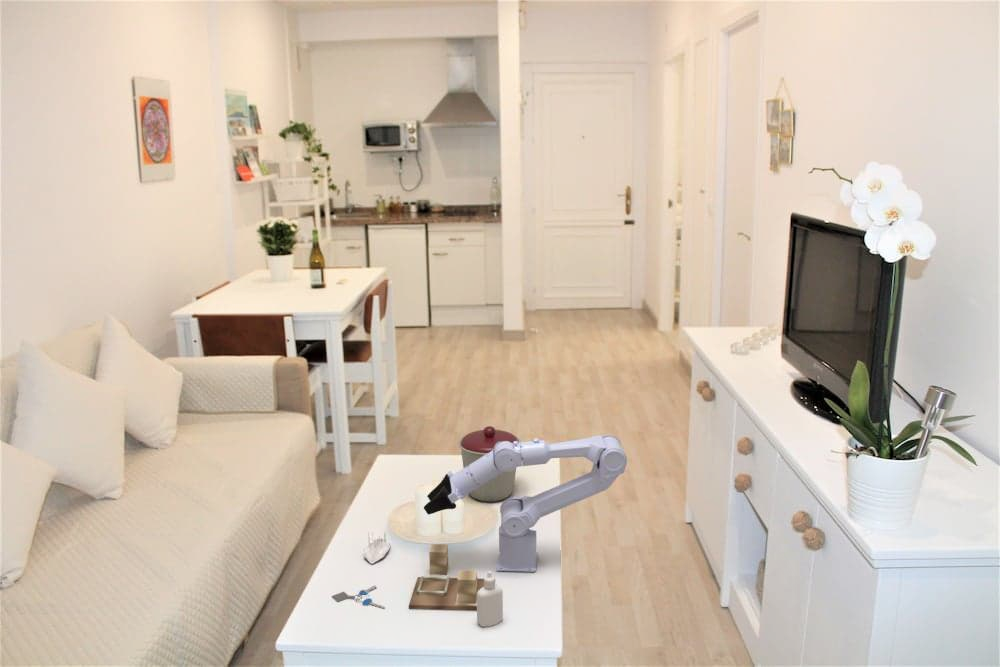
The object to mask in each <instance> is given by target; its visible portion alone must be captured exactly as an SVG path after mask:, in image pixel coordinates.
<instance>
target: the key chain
mask: <svg viewBox="0 0 1000 667" xmlns="http://www.w3.org/2000/svg"><path fill="white" fill-rule="evenodd" d="M376 588H377V585H373V586H371V587H369V588H367V589H361V590H360V591H359V593H358V594H356V595H348V594H347V593H346V592H345V591H342V592H338V593H336V594H333V595H331V598H332V599H333V600H334V601H335V602H336V603H341V602H343V601H346V600H353V601H355V600H356V601H357V600H358V601H357V602H359V603H360V602H361V603H362V606H364V605H368V606H369V605H371V606H374V607H377V608H379V609H380V608H381V609H386V607H385V606H384V605H382V604H377V603H374V602H373V600H372V598H371V597H369V598H368V597H367V598H366V599H364V600H362V599H363V596H362V595H365V596H366V595H369V593H370V592H371V591H373V590H375V589H376ZM355 596H356V597H355ZM360 596H361V597H360ZM358 597H360V598H358ZM360 599H361V600H360Z"/></svg>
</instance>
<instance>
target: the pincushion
mask: <svg viewBox="0 0 1000 667" xmlns="http://www.w3.org/2000/svg"><path fill="white" fill-rule="evenodd" d="M383 533H384V536H383V537H384V538H383V537H378V538H375V539H374V538H373V539H372V540H371V538H370V534H369V532H368V542H367V544H366V545H365V548H364V555H363V556H364V558H365V559H366V560H367V561H368V562H369V564H374V563H376V562H378V561H379V560H381V559H383V558H384V557H385V556H386V554H387V552H389V549H390V548H391V543H390V541H389V540H387V538H386V533H385V532H383ZM372 535H374V534H373V532H372Z"/></svg>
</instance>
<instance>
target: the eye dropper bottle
mask: <svg viewBox="0 0 1000 667" xmlns="http://www.w3.org/2000/svg"><path fill="white" fill-rule="evenodd" d="M483 579H484V587H482V588H481V589H480V590H479V591H478V592H477V611H476V622H477V623H478V625H479V626H480V627H482V628H487V627H493V626H495V625H498V624H499V623H501V622H502V621H503V620H504V619H503V618H504V602H503V601H504V600H503V597H504V596H503V588H501V587H500V586H499V585H498V584H496V578H495V575H492V571H489V570H488V571H487V573H486V575H485V576H484V577H483Z"/></svg>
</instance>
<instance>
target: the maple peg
mask: <svg viewBox="0 0 1000 667" xmlns="http://www.w3.org/2000/svg"><path fill="white" fill-rule="evenodd" d="M428 552H429V555H428V556H429V575H431V576H435V575H437V576H447V575H448V570H449V544H447V543H446V544H444V543H443V544H442V543H439V544H438V543H436V544H435V543H432V544H431V545H430V548H429V551H428Z"/></svg>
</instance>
